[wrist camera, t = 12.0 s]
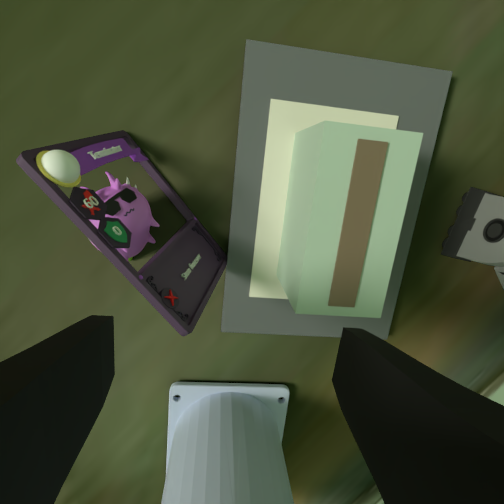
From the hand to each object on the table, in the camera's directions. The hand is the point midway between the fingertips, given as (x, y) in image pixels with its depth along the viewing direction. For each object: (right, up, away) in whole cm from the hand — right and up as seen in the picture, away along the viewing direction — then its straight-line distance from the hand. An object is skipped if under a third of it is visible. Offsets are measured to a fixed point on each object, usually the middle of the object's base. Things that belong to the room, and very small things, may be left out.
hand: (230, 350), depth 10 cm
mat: (+5, +6, +9) cm, 11 cm away
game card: (-5, +5, +8) cm, 11 cm away
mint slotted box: (+5, +5, +8) cm, 11 cm away
